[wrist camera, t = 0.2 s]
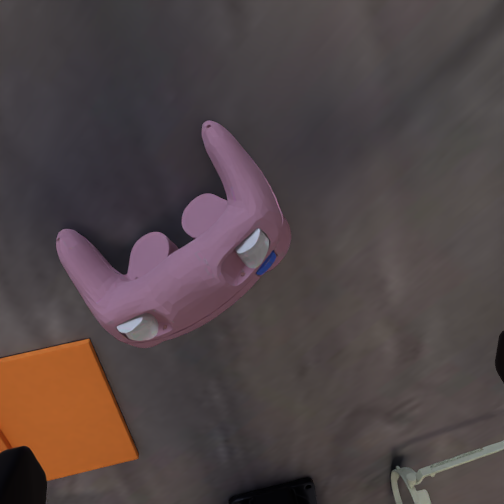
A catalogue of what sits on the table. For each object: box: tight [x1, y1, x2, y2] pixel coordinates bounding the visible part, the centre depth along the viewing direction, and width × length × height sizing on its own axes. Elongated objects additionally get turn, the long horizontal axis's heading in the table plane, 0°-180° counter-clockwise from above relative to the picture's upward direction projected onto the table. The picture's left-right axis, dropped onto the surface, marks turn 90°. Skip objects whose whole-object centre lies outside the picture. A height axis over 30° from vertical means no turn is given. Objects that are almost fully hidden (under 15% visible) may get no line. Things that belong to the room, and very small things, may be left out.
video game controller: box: [56, 121, 291, 348], centre depth 20 cm, size 10×5×7 cm, turn 124°
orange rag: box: [0, 339, 139, 481], centre depth 26 cm, size 10×10×1 cm
